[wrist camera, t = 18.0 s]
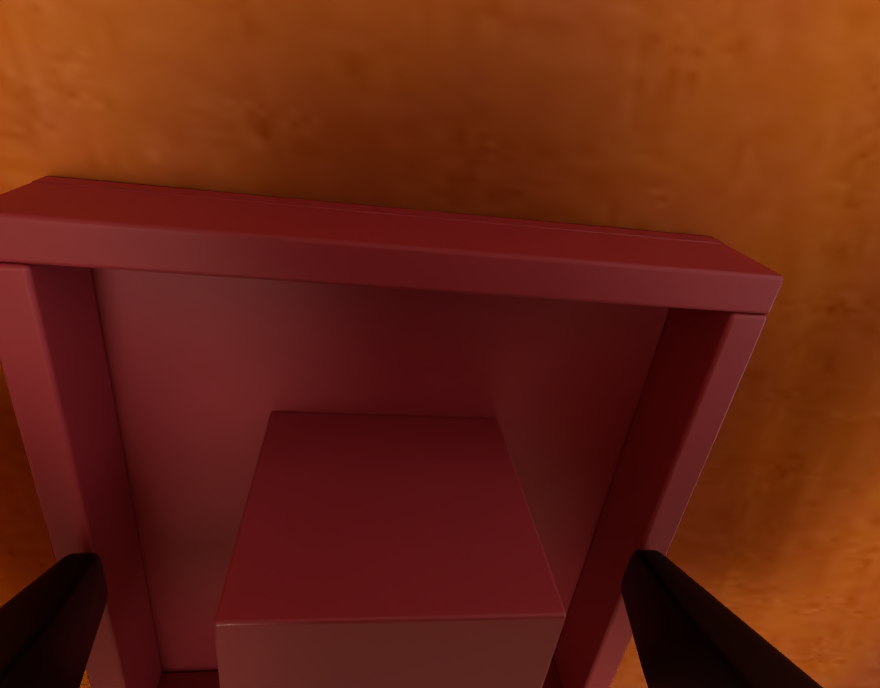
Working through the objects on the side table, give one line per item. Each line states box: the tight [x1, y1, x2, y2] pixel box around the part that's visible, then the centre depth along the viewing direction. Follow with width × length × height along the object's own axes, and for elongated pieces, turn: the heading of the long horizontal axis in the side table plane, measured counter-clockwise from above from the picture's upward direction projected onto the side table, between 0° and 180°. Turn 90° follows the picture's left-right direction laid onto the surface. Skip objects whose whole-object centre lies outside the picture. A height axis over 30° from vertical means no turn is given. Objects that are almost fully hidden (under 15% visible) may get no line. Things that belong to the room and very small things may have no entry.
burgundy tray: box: [0, 176, 783, 688], centre depth 10 cm, size 11×10×2 cm
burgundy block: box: [213, 412, 566, 688], centre depth 9 cm, size 4×4×4 cm
